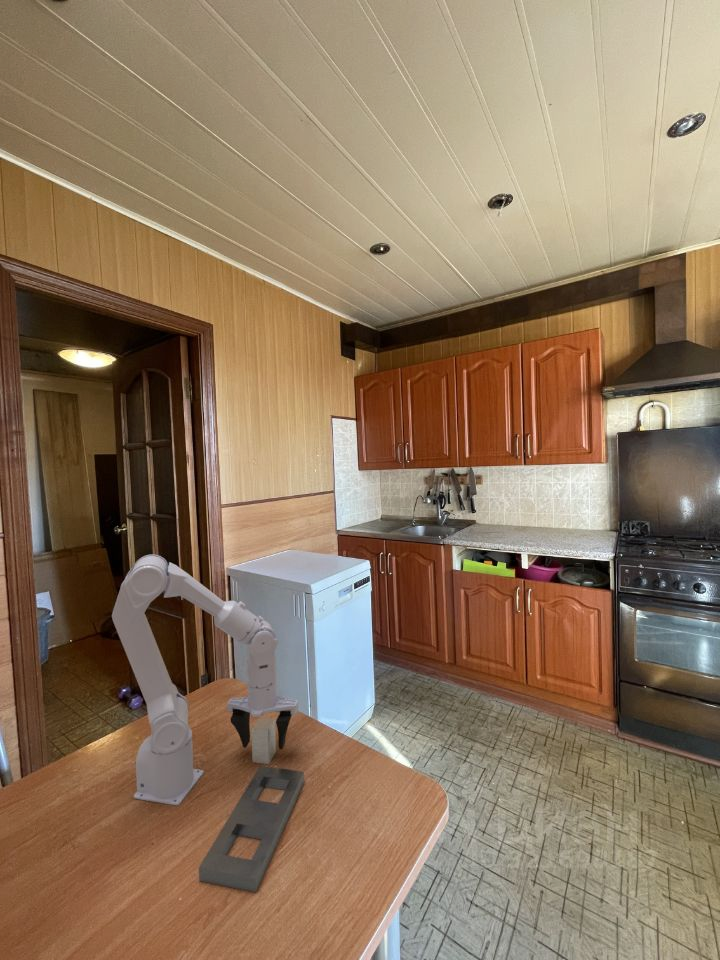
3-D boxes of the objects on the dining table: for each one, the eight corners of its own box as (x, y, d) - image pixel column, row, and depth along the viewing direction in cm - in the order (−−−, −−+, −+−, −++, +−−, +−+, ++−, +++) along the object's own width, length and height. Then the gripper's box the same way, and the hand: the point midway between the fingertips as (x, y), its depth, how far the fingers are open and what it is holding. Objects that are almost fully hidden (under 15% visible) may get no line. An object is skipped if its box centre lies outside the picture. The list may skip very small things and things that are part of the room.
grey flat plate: (199, 880, 58) (198, 867, 58) (260, 775, 77) (260, 765, 77) (256, 892, 56) (255, 878, 56) (304, 781, 75) (303, 771, 75)
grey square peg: (252, 761, 81) (251, 728, 81) (260, 749, 85) (259, 717, 84) (268, 764, 80) (267, 730, 80) (276, 751, 84) (275, 719, 84)
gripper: (219, 690, 79) (222, 757, 79) (290, 693, 77) (292, 761, 78) (234, 672, 86) (236, 733, 86) (299, 674, 84) (301, 736, 85)
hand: (264, 745), depth 82 cm, fingers open, 7 cm apart
